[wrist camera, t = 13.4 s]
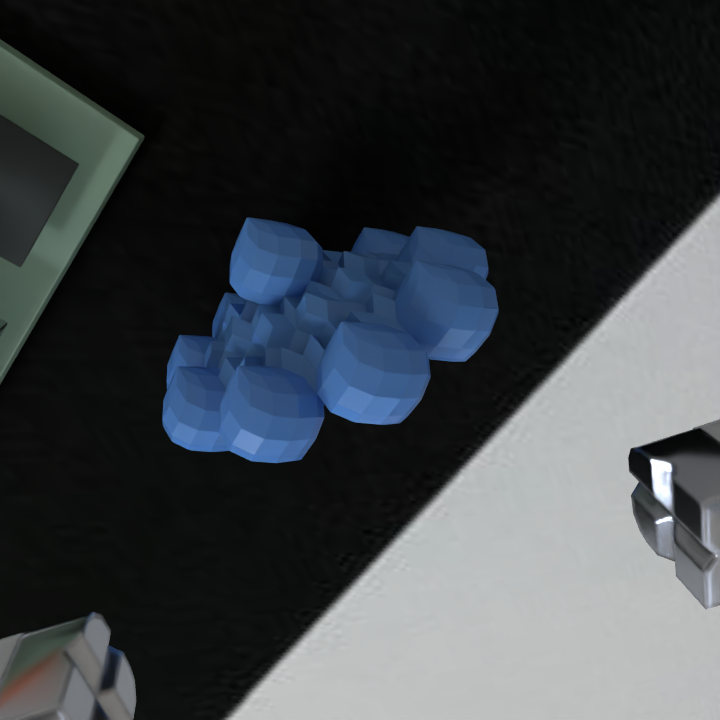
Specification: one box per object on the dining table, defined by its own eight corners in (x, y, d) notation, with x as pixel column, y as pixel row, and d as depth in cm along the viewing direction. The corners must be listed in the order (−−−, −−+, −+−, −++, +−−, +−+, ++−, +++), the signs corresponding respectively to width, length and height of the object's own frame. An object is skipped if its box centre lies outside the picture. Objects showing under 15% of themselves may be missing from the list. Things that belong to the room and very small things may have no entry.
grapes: (383, 112, 24) (494, 132, 13) (453, 266, 27) (593, 386, 16) (116, 262, 25) (14, 398, 14) (212, 397, 28) (189, 599, 17)
